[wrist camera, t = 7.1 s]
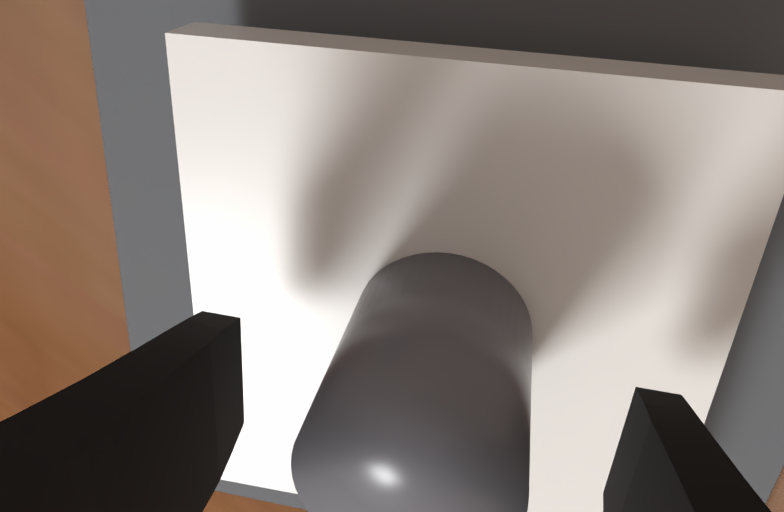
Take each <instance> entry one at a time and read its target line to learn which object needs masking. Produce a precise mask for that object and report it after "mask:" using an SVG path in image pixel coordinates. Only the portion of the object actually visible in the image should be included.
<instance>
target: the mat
mask: <svg viewBox="0 0 784 512" xmlns="http://www.w3.org/2000/svg"><path fill="white" fill-rule="evenodd" d="M84 1H85V9H86V16H87V24H88V32H89V39H90V47H91V54H92V62H93V69H94V77H95V84H96V92H97V100H98V107H99V115H100V122H101V130H102V137H103V145H104V153H105V160H106V168H107V175H108V183H109V190H110V198H111V206H112V213H113V221H114V228H115V236H116V243H117V251H118V258H119V266H120V274H121V281H122V289H123V296H124V304H125V311H126V319H127V327H128V334H129V342H130V349H131V351H133V350H135V349H136V348H138V347H140V346H141V345H143V344H145V343H146V342H148V341H150V340H152V339H153V338H155V337H157V336H158V335H160V334H162V333H163V332H165V331H167V330H169V329H170V328H172V327H174V326H175V325H177V324H179V323H181V322H182V321H184V320H186V319H188V318H190V317H191V316H193V315H194V314H193V304H192V294H191V284H190V274H189V265H188V255H187V245H186V235H185V226H184V216H183V206H182V196H181V187H180V177H179V167H178V157H177V148H176V138H175V128H174V118H173V108H172V99H171V89H170V79H169V69H168V60H167V50H166V40H165V33H166V32H168V31H171V30H174V29H177V28H179V27H182V26H185V25H187V24H190V23H193V22H202V23H213V24H224V25H235V26H246V27H257V28H268V29H279V30H290V31H301V32H313V33H324V34H335V35H346V36H357V37H368V38H379V39H390V40H401V41H412V42H423V43H435V44H446V45H457V46H468V47H479V48H490V49H501V50H512V51H523V52H534V53H545V54H556V55H568V56H579V57H590V58H601V59H612V60H623V61H634V62H645V63H656V64H667V65H678V66H689V67H701V68H712V69H723V70H734V71H745V72H756V73H767V74H778V75H784V0H84ZM704 425H705V426H706V428H707V429H708V430H709V432H710V433H711V434H712V436H713V437H714V438H715V440H716V441H717V442H718V444H719V445H720V446H721V448H722V449H723V450H724V452H725V453H726V454H727V456H728V457H729V458H730V460H731V461H732V462H733V464H734V465H735V466H736V468H737V469H738V470H739V471H740V473H741V474H742V475H743V477H744V478H745V479H746V480H747V482H748V483H749V484H750V486H751V487H752V488H753V489H754V491H755V492H756V493H757V494H758V496H759V497H760V498H761V499H762V501H763V502H764V503H765V504H766V502H767V500H768V498H769V495H770V493H771V491H772V489H773V487H774V485H775V483H776V481H777V478H778V476H779V474H780V472H781V470H782V468H783V466H784V195H783V198H782V201H781V204H780V207H779V210H778V213H777V215H776V218H775V221H774V224H773V227H772V230H771V233H770V236H769V239H768V241H767V244H766V247H765V250H764V253H763V256H762V259H761V262H760V264H759V267H758V270H757V273H756V276H755V279H754V282H753V285H752V288H751V290H750V293H749V296H748V299H747V302H746V305H745V308H744V311H743V313H742V316H741V319H740V322H739V325H738V328H737V331H736V334H735V337H734V339H733V342H732V345H731V348H730V351H729V354H728V357H727V360H726V362H725V365H724V368H723V371H722V374H721V377H720V380H719V383H718V386H717V388H716V391H715V394H714V397H713V400H712V403H711V406H710V409H709V411H708V414H707V417H706V420H705V423H704ZM215 491H220V492H224V493H229V494H234V495H239V496H243V497H248V498H253V499H258V500H262V501H267V502H272V503H277V504H281V505H286V506H291V507H296V508H300V509H305V510H306V508H305V506H304V505H303V503H302V501H301V500H300V498H299V496H298V494H294V493H289V492H284V491H279V490H274V489H268V488H263V487H258V486H253V485H247V484H242V483H237V482H232V481H226V480H221V479H220V481H219V483H218V485H217V487H216V489H215Z"/></svg>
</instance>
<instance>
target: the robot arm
mask: <svg viewBox="0 0 784 512" xmlns="http://www.w3.org/2000/svg"><path fill="white" fill-rule="evenodd" d="M243 425H244V400H243V373H242V347H241V320H240V317H234V316H228V315H223V314H217V313H211V312H205V311H201V312H199V313H197V314H195V315H193V316H191V317H190V318H188V319H186V320H184V321H182V322H181V323H179V324H177V325H175V326H174V327H172V328H170V329H169V330H167V331H165V332H163V333H162V334H160V335H158V336H157V337H155V338H153V339H152V340H150V341H148V342H146V343H145V344H143V345H141V346H140V347H138V348H136V349H135V350H133V351H131V352H129V353H128V354H126V355H124V356H122V357H121V358H119V359H117V360H115V361H114V362H112V363H110V364H108V365H107V366H105V367H103V368H102V369H100V370H98V371H96V372H95V373H93V374H91V375H89V376H88V377H86V378H84V379H82V380H80V381H78V382H77V383H75V384H73V385H71V386H69V387H67V388H65V389H63V390H61V391H59V392H57V393H55V394H54V395H52V396H50V397H48V398H46V399H44V400H42V401H40V402H38V403H36V404H34V405H32V406H31V407H29V408H27V409H25V410H23V411H21V412H19V413H17V414H15V415H13V416H11V417H9V418H7V419H5V420H3V421H1V422H0V512H202V511H203V510H204V508H205V506H206V504H207V503H208V501H209V499H210V498H211V496H212V494H213V492H214V490H215V489H216V487H217V485H218V483H219V481H220V479H221V477H222V475H223V472H224V470H225V468H226V465H227V463H228V461H229V459H230V456H231V454H232V452H233V449H234V447H235V444H236V442H237V439H238V437H239V434H240V432H241V429H242V427H243ZM603 512H771V511H770V509H769V508H768V507H767V506H766V504H765V503H764V502H763V501H762V499H761V498H760V497H759V496H758V494H757V493H756V492H755V491H754V489H753V488H752V487H751V486H750V484H749V483H748V482H747V480H746V479H745V478H744V477H743V475H742V474H741V473H740V471H739V470H738V469H737V468H736V466H735V465H734V464H733V462H732V461H731V460H730V458H729V457H728V456H727V454H726V453H725V452H724V450H723V449H722V448H721V446H720V445H719V444H718V442H717V441H716V440H715V438H714V437H713V436H712V434H711V433H710V432H709V430H708V429H707V428H706V426H705V425H704V424H703V422H702V421H701V420H700V418H699V417H698V416H697V414H696V413H695V412H694V410H693V409H692V408H691V406H690V405H689V404H688V402H687V401H686V400H685V398H684V397H683V396H682V395H680V394H674V393H669V392H663V391H657V390H651V389H646V388H640V387H636V388H635V391H634V394H633V397H632V401H631V404H630V407H629V410H628V414H627V417H626V420H625V423H624V427H623V430H622V433H621V436H620V440H619V443H618V446H617V449H616V453H615V456H614V459H613V462H612V466H611V469H610V472H609V475H608V478H607V482H606V485H605V488H604V491H603Z"/></svg>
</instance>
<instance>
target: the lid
mask: <svg viewBox="0 0 784 512" xmlns="http://www.w3.org/2000/svg"><path fill="white" fill-rule="evenodd" d="M165 40H166V50H167V60H168V69H169V79H170V89H171V99H172V108H173V118H174V128H175V138H176V148H177V157H178V167H179V177H180V187H181V196H182V206H183V216H184V226H185V235H186V245H187V255H188V265H189V274H190V284H191V294H192V304H193V314H194V315H195V314H197V313H199V312H201V311H205V312H211V313H217V314H223V315H228V316H234V317H240V320H241V347H242V373H243V400H244V425H243V427H242V429H241V432H240V434H239V437H238V439H237V442H236V444H235V447H234V449H233V452H232V454H231V456H230V459H229V461H228V463H227V465H226V468H225V470H224V472H223V475H222V477H221V480H226V481H232V482H237V483H242V484H247V485H253V486H258V487H263V488H268V489H274V490H279V491H284V492H289V493H294V494H298V496H299V498H300V500H301V501H302V503H303V505H304V506H305V508H306V510H307V511H308V512H603V491H604V488H605V485H606V482H607V478H608V475H609V472H610V469H611V466H612V462H613V459H614V456H615V453H616V449H617V446H618V443H619V440H620V436H621V433H622V430H623V427H624V423H625V420H626V417H627V414H628V410H629V407H630V404H631V401H632V397H633V394H634V391H635V388H636V387H640V388H646V389H651V390H657V391H663V392H669V393H674V394H680V395H682V396H683V397H684V398H685V400H686V401H687V402H688V404H689V405H690V406H691V408H692V409H693V410H694V412H695V413H696V414H697V416H698V417H699V418H700V420H701V421H702V422H703V424H704V423H705V420H706V417H707V414H708V411H709V409H710V406H711V403H712V400H713V397H714V394H715V391H716V388H717V386H718V383H719V380H720V377H721V374H722V371H723V368H724V365H725V362H726V360H727V357H728V354H729V351H730V348H731V345H732V342H733V339H734V337H735V334H736V331H737V328H738V325H739V322H740V319H741V316H742V313H743V311H744V308H745V305H746V302H747V299H748V296H749V293H750V290H751V288H752V285H753V282H754V279H755V276H756V273H757V270H758V267H759V264H760V262H761V259H762V256H763V253H764V250H765V247H766V244H767V241H768V239H769V236H770V233H771V230H772V227H773V224H774V221H775V218H776V215H777V213H778V210H779V207H780V204H781V201H782V198H783V195H784V75H778V74H767V73H756V72H745V71H734V70H723V69H712V68H701V67H689V66H678V65H667V64H656V63H645V62H634V61H623V60H612V59H601V58H590V57H579V56H568V55H556V54H545V53H534V52H523V51H512V50H501V49H490V48H479V47H468V46H457V45H446V44H435V43H423V42H412V41H401V40H390V39H379V38H368V37H357V36H346V35H335V34H324V33H313V32H301V31H290V30H279V29H268V28H257V27H246V26H235V25H224V24H213V23H202V22H193V23H190V24H187V25H185V26H182V27H179V28H177V29H174V30H171V31H168V32H166V33H165Z"/></svg>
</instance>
